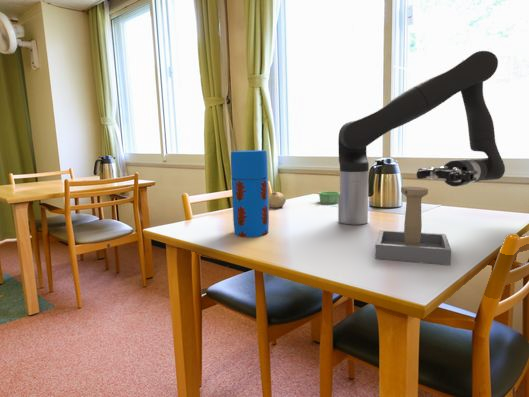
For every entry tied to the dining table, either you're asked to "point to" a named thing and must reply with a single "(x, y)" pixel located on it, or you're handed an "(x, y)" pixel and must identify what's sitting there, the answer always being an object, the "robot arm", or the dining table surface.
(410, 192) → the handle
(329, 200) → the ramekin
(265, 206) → the thermos
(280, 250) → the dining table surface
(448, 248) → the tray
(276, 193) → the onion
